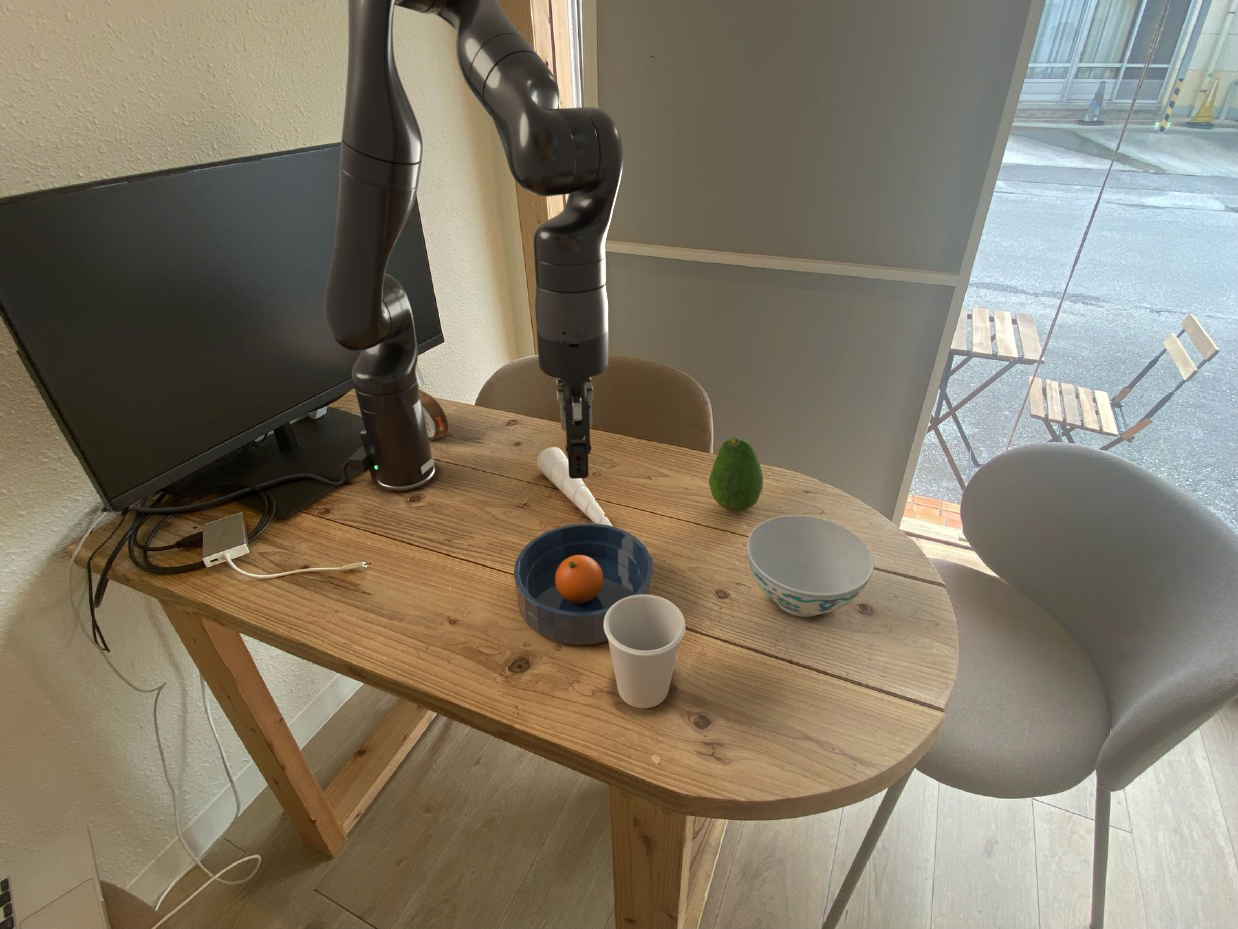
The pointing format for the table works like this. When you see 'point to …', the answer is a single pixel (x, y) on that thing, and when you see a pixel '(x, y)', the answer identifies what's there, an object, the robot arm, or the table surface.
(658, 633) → the dixie cup
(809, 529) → the chinaware
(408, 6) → the robot arm
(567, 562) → the mandarin
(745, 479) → the avocado
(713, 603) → the table surface
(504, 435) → the table surface
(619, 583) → the bowl
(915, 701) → the table surface
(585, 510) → the unicorn horn
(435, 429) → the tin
